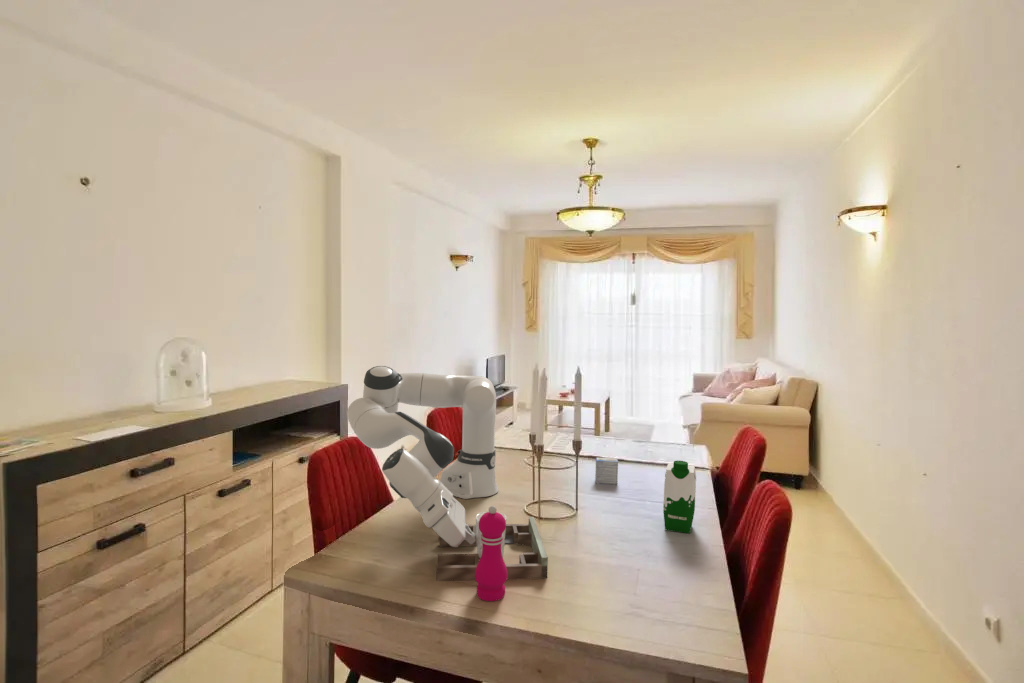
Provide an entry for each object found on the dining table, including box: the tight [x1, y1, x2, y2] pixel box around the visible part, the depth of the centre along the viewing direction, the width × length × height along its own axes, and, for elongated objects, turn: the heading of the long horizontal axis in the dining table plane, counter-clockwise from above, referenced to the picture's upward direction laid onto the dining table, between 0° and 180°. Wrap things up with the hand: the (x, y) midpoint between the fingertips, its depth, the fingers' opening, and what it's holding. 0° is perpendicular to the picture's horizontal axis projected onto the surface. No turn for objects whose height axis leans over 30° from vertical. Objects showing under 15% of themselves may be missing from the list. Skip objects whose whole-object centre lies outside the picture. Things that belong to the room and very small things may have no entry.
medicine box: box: [594, 457, 619, 485], centre depth 204 cm, size 8×4×9 cm, turn 84°
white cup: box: [475, 510, 507, 559], centre depth 142 cm, size 8×8×10 cm
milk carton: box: [662, 460, 697, 535], centre depth 163 cm, size 9×9×20 cm
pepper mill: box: [474, 505, 508, 602], centre depth 122 cm, size 7×7×20 cm
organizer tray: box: [435, 516, 549, 581], centre depth 142 cm, size 26×25×5 cm
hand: (473, 540), depth 141 cm, fingers closed
